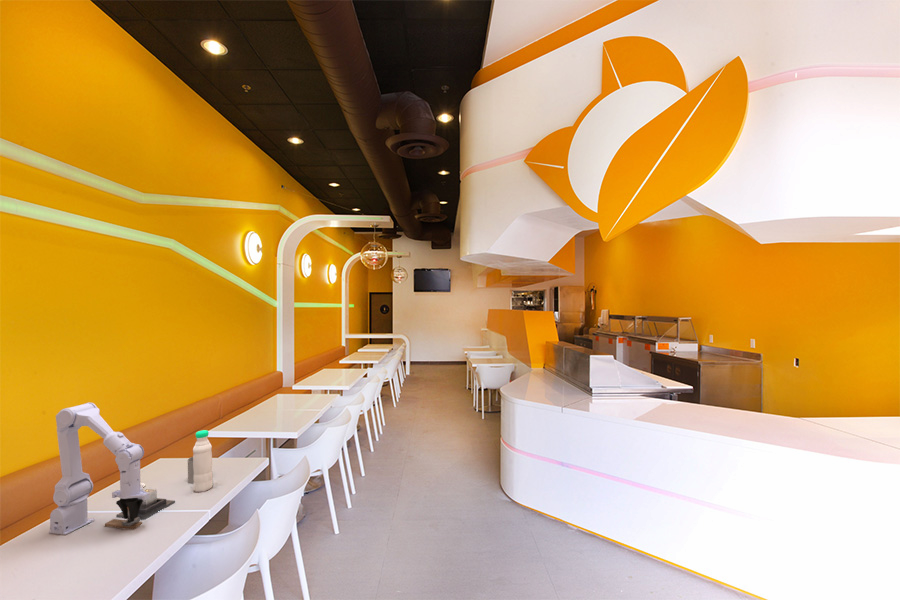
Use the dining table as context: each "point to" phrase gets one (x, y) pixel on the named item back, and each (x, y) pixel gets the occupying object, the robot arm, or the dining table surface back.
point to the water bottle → (202, 462)
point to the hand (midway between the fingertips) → (131, 518)
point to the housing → (149, 499)
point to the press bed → (152, 508)
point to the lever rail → (118, 523)
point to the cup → (190, 471)
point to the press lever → (130, 522)
